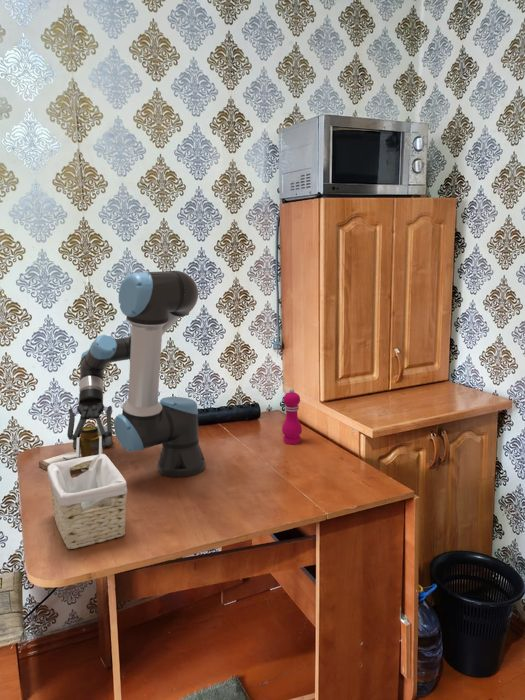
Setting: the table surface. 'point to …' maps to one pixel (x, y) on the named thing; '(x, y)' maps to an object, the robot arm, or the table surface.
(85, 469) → the condiment
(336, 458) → the table surface
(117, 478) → the storage basket
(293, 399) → the pepper mill
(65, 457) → the writing board
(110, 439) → the ceramic mug
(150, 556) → the table surface
